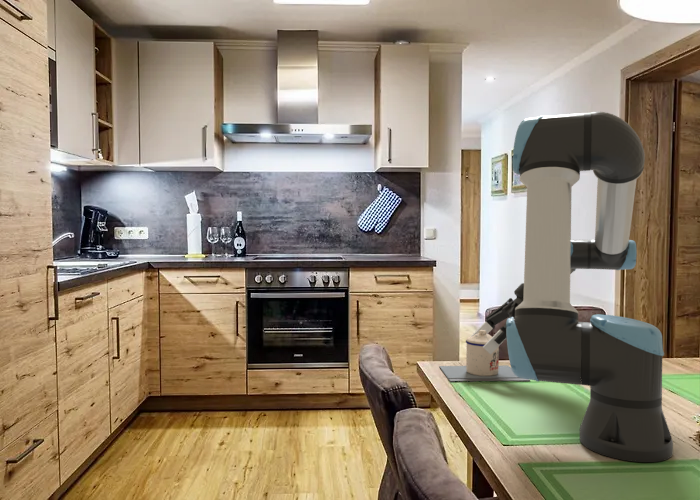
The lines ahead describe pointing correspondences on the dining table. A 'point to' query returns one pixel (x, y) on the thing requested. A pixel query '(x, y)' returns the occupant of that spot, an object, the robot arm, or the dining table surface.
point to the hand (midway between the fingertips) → (479, 345)
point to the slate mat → (462, 373)
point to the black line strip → (490, 379)
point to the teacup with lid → (481, 356)
